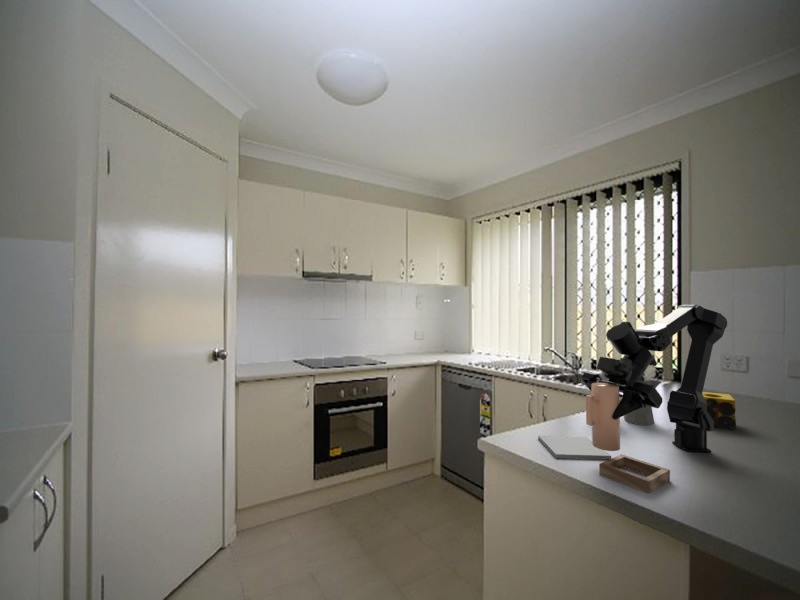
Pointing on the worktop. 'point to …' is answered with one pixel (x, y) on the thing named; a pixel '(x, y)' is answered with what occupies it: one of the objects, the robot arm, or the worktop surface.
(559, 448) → the pad
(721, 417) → the yellow spotted cube
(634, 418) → the coffeepot
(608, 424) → the tan piece
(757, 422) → the worktop surface
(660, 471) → the collar
